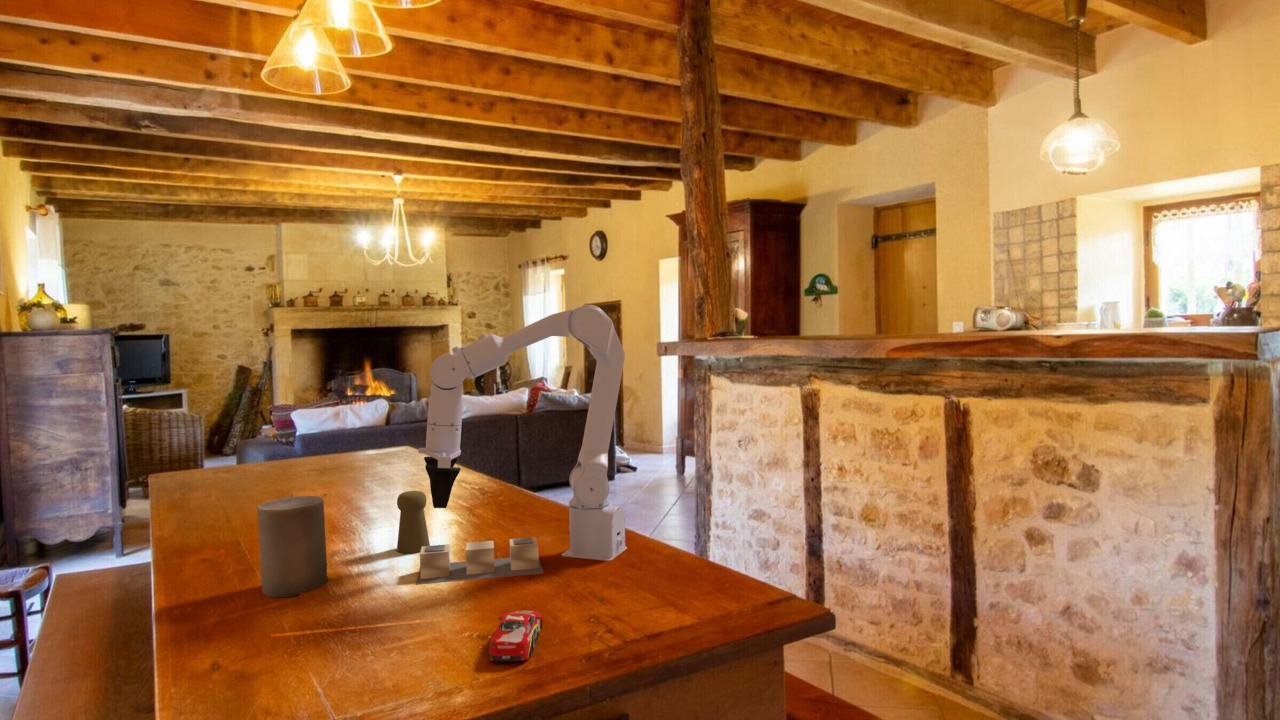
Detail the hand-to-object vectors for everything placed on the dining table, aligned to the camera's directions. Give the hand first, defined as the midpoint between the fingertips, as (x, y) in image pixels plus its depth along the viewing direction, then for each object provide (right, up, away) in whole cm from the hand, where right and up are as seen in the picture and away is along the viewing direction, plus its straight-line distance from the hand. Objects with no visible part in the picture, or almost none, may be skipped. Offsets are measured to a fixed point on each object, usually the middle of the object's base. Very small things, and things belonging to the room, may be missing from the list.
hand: (438, 502), depth 130 cm
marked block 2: (+15, -10, -2) cm, 18 cm away
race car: (+19, -12, -33) cm, 40 cm away
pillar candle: (-20, -12, -10) cm, 26 cm away
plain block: (+8, -10, -4) cm, 14 cm away
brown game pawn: (-7, -11, +9) cm, 16 cm away
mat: (+8, -11, -4) cm, 14 cm away
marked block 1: (+1, -11, -6) cm, 12 cm away
